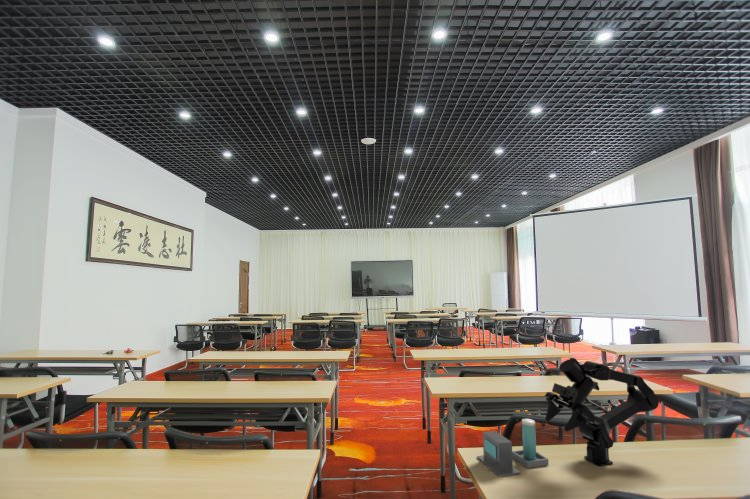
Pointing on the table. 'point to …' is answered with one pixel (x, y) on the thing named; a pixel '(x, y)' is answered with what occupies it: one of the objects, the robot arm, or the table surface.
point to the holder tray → (530, 464)
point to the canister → (529, 439)
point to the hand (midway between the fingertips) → (555, 425)
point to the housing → (498, 454)
